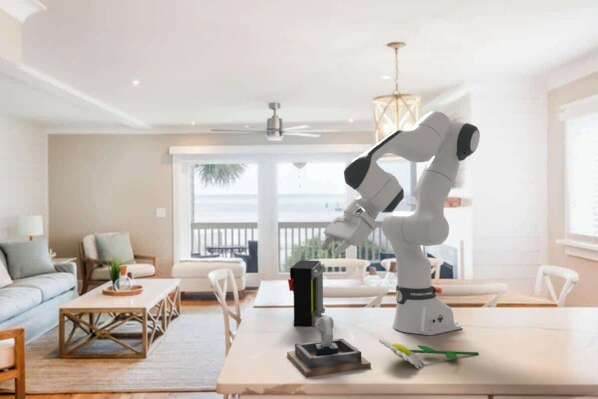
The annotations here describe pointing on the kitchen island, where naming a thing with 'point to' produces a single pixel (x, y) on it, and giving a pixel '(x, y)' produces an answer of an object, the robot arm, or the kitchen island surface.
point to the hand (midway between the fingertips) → (329, 251)
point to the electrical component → (307, 292)
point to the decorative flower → (413, 358)
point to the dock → (327, 359)
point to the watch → (325, 337)
